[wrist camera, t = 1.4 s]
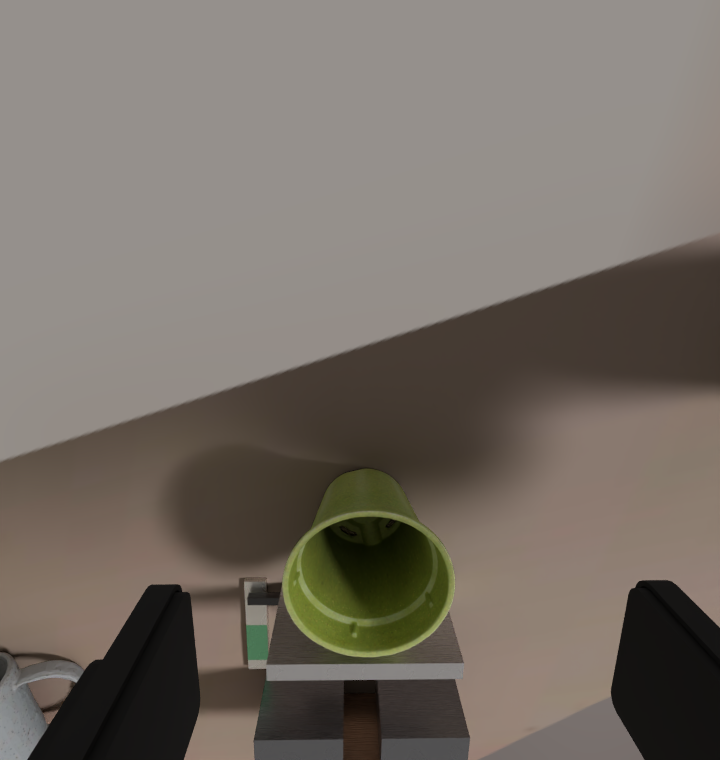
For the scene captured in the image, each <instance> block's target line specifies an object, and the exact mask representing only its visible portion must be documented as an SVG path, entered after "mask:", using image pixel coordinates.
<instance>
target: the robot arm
mask: <svg viewBox="0 0 720 760" xmlns="http://www.w3.org/2000/svg"><path fill="white" fill-rule="evenodd" d="M611 697H612V701H613V705H614V708H615V710H616V712H617V714H618V716H619V717H620V719H621V720H622V722H623V724H624V726H625V727H626V729H627V731H628V732H629V734H630V736H631V737H632V739H633V741H634V742H635V744H636V746H637V747H638V749H639V751H640V753H641V754H642V756H643V758H644V759H645V760H720V628H719V627H718V626H717V625H716V624H715V623H714V622H713V621H712V620H711V619H710V618H709V617H708V616H707V615H706V614H705V613H704V612H703V611H702V610H701V609H700V608H699V607H698V606H697V605H696V604H695V603H694V602H693V601H692V600H691V599H690V598H689V597H688V596H687V595H686V594H685V593H684V592H683V591H682V590H681V589H680V588H679V587H678V586H677V585H676V584H674V583H673V582H671V581H668V580H646V581H639V582H638V583H637V584H636V587H635V588H633V589H631V590H630V592H629V595H628V600H627V606H626V611H625V617H624V622H623V628H622V633H621V639H620V644H619V649H618V655H617V660H616V666H615V671H614V677H613V682H612V687H611ZM199 707H200V689H199V679H198V668H197V658H196V648H195V638H194V627H193V617H192V607H191V598H190V594H189V593H188V592H182V588H181V586H180V585H178V584H175V585H150V586H148V588H147V589H146V590H145V592H144V593H143V595H142V597H141V598H140V600H139V602H138V603H137V605H136V606H135V608H134V610H133V611H132V613H131V615H130V616H129V618H128V620H127V621H126V623H125V624H124V626H123V628H122V629H121V631H120V633H119V634H118V636H117V637H116V639H115V641H114V642H113V644H112V646H111V647H110V649H109V650H108V652H107V654H106V655H105V657H104V659H103V660H95V661H93V662H92V663H90V664H89V666H88V667H87V668H86V669H85V671H84V672H83V673H82V675H81V677H80V678H79V680H78V681H77V683H76V684H75V686H74V687H73V689H72V691H71V692H70V694H69V695H68V697H67V698H66V700H65V701H64V703H63V704H62V706H61V708H60V709H59V711H58V712H57V714H56V715H55V717H54V718H53V720H52V722H51V723H50V725H49V726H48V728H47V729H46V731H45V732H44V734H43V736H42V737H41V739H40V740H39V742H38V743H37V745H36V746H35V748H34V750H33V751H32V753H31V754H30V756H29V757H28V759H27V760H184V757H185V754H186V751H187V748H188V745H189V742H190V739H191V736H192V733H193V730H194V726H195V723H196V720H197V717H198V713H199Z"/></svg>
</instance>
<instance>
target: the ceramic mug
mask: <svg viewBox="0 0 720 760" xmlns="http://www.w3.org/2000/svg"><path fill="white" fill-rule="evenodd" d="M83 672H84V670H83V669H82V668H81V667H80V666H79V665H77V664H76V663H73V662H70V661H66V660H50V661H45V662H41V663H38V664H34V665H31V666H28V667H25V668H22V669H19V667H18V665H17V663H16V661H15V660H14V658H13V657H12V656H11V655H10V654H8V653H5V652H0V760H27V759H28V757H29V756H30V754H31V753H32V751H33V750H34V748H35V746H36V745H37V743H38V742H39V740H40V739H41V737H42V736H43V734H44V732H45V731H46V729H47V728H48V726H49V725H50V724H47V723H46V721H45V717H44V715H43V713H42V711H41V709H40V708H39V706H38V704H37V702H36V701H35V699H34V697H33V695H32V693H31V691H30V688H29V686H28V684H27V683H29V682H33V681H37V680H41V679H46V678H63V679H68V680H70V681H73V682H75V683H77V681H78V680H79V678H80V677H81V675H82V673H83Z"/></svg>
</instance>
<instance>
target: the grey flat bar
mask: <svg viewBox="0 0 720 760" xmlns="http://www.w3.org/2000/svg"><path fill="white" fill-rule="evenodd" d="M247 603H248V605H278V608H277V613H276V618H275V623H274V628H273V633H272V638H271V643H270V648H269V653H268V658H267V663H266V673H267V681H297V680H408V679H463V668H464V662H463V658H462V655H461V651H460V648H459V644H458V641H457V637H456V634H455V631H454V627H453V624H452V620H451V617H450V613H449V611H448V613H447V615H446V617H445V619H444V620H443V621H442V623H441V624H440V625H439V627H438V628H437V629H436V630H435V631H434V632H433V633H432V634H431V635H430V636H429V637H427V638H426V639H424V640H423V641H422V642H420V643H418V644H417V645H415V646H413V647H411V648H409V649H407V650H405V651H402V652H399V653H396V654H393V655H386V656H380V657H354V656H348V655H343V654H340V653H336V652H334V651H331V650H329V649H327V648H325V647H323V646H321V645H319V644H317V643H315V642H314V641H312V640H311V639H310V638H308V637H307V636H306V635H305V634H304V633H303V632H302V631H301V630H300V629H299V628H298V627H297V626H296V625H295V623H294V622H293V620H292V618H291V617H290V615H289V613H288V611H287V609H286V606H285V602H284V598H283V591H282V588H281V592H264V593H249V594H248V597H247Z"/></svg>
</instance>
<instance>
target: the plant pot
mask: <svg viewBox="0 0 720 760" xmlns="http://www.w3.org/2000/svg"><path fill="white" fill-rule="evenodd" d="M392 519H394V520H396V521H395V523H394V524H393V525H392V526H391V527H389V528H387V527H386V525H387V524H388V523H389V522H390V521H391V520H392ZM340 526H344V527H346V528H347V529H348V530H350V531H352V532H355V533H356V534H357V535H356V536H351V535H348V534H346V533H344V532H343V531H342V530H341V529H340ZM282 591H283V598H284V602H285V606H286V609H287V611H288V613H289V615H290V617H291V618H292V620H293V622H294V623H295V625H296V626H297V627H298V628H299V629H300V630H301V631H302V632H303V633H304V634H305V635H306V636H307V637H308V638H310V639H311V640H312V641H314V642H315V643H317V644H319V645H321V646H323V647H325V648H327V649H329V650H331V651H334V652H336V653H340V654H343V655H348V656H354V657H380V656H386V655H393V654H396V653H399V652H402V651H405V650H407V649H409V648H411V647H413V646H415V645H417V644H418V643H420V642H422V641H423V640H424V639H426V638H427V637H429V636H430V635H431V634H432V633H433V632H434V631H435V630H436V629H437V628H438V627H439V625H440V624H441V623H442V621H443V620H444V619H445V617H446V615H447V613H448V611H449V609H450V607H451V604H452V601H453V597H454V591H455V575H454V569H453V565H452V562H451V559H450V556H449V554H448V552H447V550H446V548H445V547H444V545H443V544H442V542H441V541H440V540H439V538H438V537H437V536H436V535H435V534H434V533H433V532H432V531H431V530H430V529H428V528H427V527H426V526H425V525H423V524H422V523H420V522H419V520H418V518H417V516H416V515H415V513H414V511H413V509H412V507H411V505H410V503H409V501H408V499H407V497H406V495H405V493H404V491H403V490H402V488H401V486H400V485H399V484H398V483H397V482H396V481H395V480H394V479H393V478H392V477H391V476H389V475H388V474H386V473H384V472H381V471H379V470H375V469H361V470H356V471H352V472H348V473H344V474H342V475H340V476H339V477H337V478H336V479H335V480H334V481H333V482H332V483H331V484H330V485H329V487H328V488H327V490H326V492H325V494H324V497H323V499H322V502H321V504H320V507H319V509H318V512H317V514H316V517H315V520H314V522H313V525H312V527H311V529H310V530H309V531H308V532H306V533H305V534H304V535H303V536H302V537H301V539H300V540H299V541H298V542H297V544H296V545H295V547H294V548H293V550H292V552H291V553H290V555H289V557H288V560H287V562H286V565H285V569H284V573H283V578H282Z"/></svg>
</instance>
